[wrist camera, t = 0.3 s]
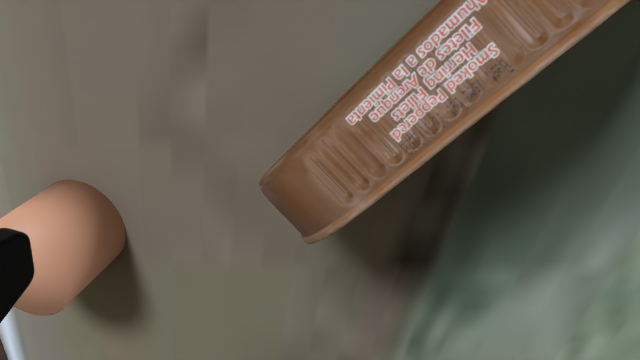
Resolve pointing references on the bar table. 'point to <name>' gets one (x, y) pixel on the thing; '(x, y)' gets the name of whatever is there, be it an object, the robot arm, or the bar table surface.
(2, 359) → the walnut block
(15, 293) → the robot arm
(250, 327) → the bar table surface
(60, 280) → the peach rounded block
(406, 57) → the tin
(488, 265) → the bar table surface
